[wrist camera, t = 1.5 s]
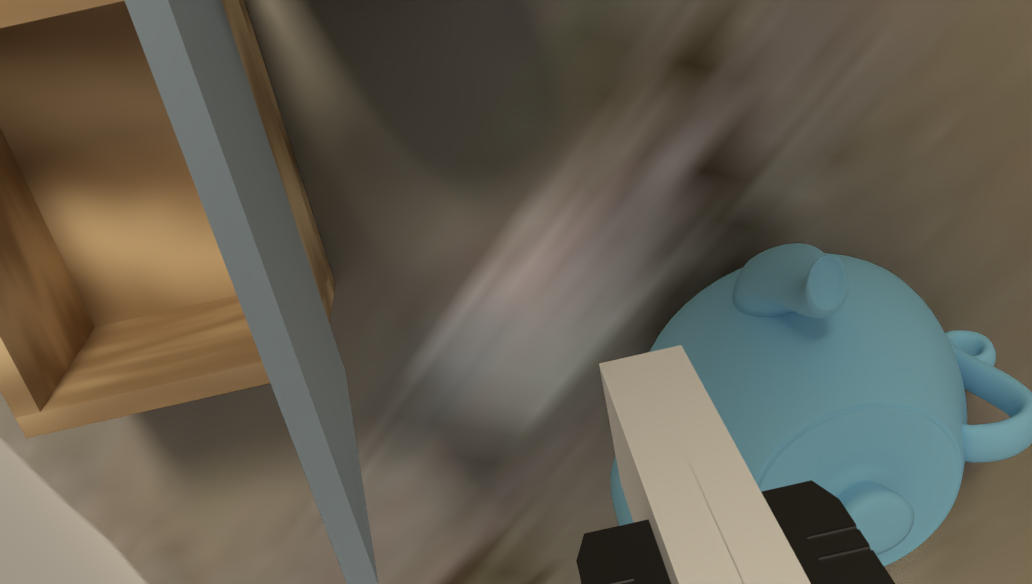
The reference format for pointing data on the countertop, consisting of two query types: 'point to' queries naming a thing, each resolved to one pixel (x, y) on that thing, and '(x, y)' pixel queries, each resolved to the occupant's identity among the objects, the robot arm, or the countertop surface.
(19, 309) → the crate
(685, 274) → the countertop surface
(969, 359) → the teapot
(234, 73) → the lid
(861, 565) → the robot arm
